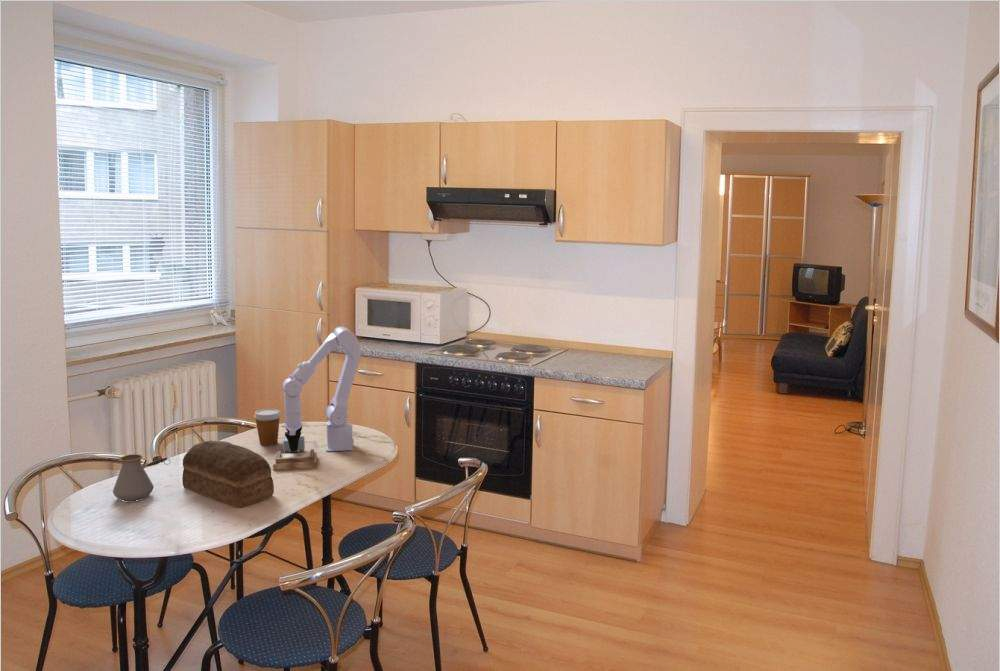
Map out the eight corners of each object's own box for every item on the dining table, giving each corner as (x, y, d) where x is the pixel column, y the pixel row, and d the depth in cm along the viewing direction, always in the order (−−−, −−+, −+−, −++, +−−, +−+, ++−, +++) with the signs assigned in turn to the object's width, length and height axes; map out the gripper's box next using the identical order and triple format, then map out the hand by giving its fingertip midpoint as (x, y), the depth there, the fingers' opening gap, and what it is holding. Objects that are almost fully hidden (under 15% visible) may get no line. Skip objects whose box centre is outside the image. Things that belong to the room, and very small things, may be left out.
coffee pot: (105, 500, 260) (101, 453, 257) (135, 488, 270) (132, 443, 267) (156, 513, 250) (152, 464, 248) (186, 499, 261) (182, 452, 258)
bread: (217, 475, 282) (214, 429, 280) (279, 497, 263) (277, 447, 261) (177, 487, 271) (174, 439, 268) (239, 511, 252) (236, 460, 249)
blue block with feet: (304, 450, 308) (304, 436, 307) (304, 454, 303) (303, 440, 303) (284, 451, 307) (284, 437, 306) (284, 455, 302) (283, 441, 301)
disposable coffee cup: (278, 447, 311) (276, 415, 309) (252, 447, 311) (250, 415, 309) (285, 439, 321) (283, 408, 318) (259, 439, 321) (258, 408, 319)
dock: (316, 457, 300) (316, 447, 300) (315, 467, 290) (315, 457, 289) (275, 459, 298) (275, 449, 297) (273, 470, 287) (272, 460, 286)
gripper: (282, 407, 309) (284, 443, 311) (279, 418, 295) (281, 456, 297) (302, 406, 310) (304, 442, 312) (300, 417, 296) (302, 454, 298)
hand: (294, 449), depth 305 cm, fingers closed on blue block with feet, 5 cm apart
